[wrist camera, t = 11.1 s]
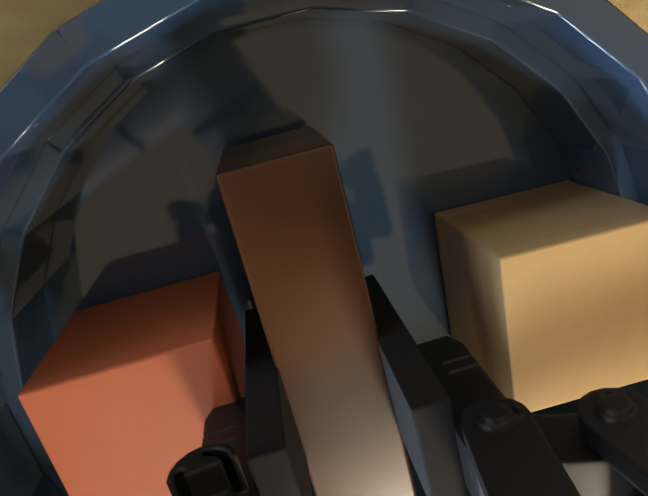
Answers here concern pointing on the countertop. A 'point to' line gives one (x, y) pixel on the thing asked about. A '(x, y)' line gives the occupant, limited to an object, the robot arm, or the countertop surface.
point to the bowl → (278, 117)
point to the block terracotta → (136, 386)
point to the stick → (315, 309)
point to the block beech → (549, 290)
